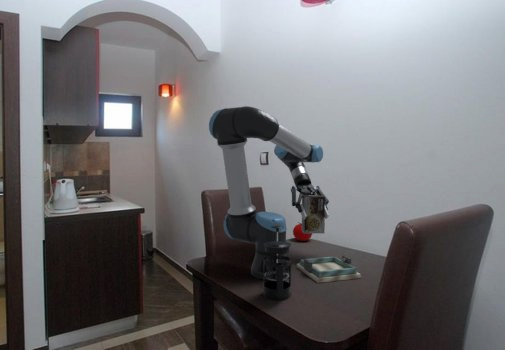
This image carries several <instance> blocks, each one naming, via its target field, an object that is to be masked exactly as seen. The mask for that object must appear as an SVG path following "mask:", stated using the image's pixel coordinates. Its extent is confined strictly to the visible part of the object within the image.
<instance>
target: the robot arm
mask: <svg viewBox="0 0 505 350" xmlns="http://www.w3.org/2000/svg"><path fill="white" fill-rule="evenodd" d="M208 130H209V133H210V135H211V136H212V138H214V139H215V140H216V142H217V146H218V147H219V148H221V150H222V156H223V165H224V171H225V176H226V184H227V185H226V187H227V192H228V199H229V205H230V207H229V208H228V209H227V214H226V215H225V216H224V219H223V230H224V233H225V235H227V237H228V238H229V239H230V240H235V241H237V242H242V243H243V242H244V243H247V244H252V245H255V255H254V258H253V261H252V264H251V266H250V275H251V276H253V277H254V278H256V279H259V280H263V281H264V257H266V256H270V255H277V254H271V253H267V252H266V251H265V246H264V243H266V242H269V241H277V232H276V228H271V226H274V225H281V226H283V227H284V228H280V229H279V232H278V241H283V242H287V230H288V229H287V222H286V218H285V217H284V215H282V214H280V213H276V212H272V211H258V212H257V209H256V206H255V205H254V204H252V199H251V198H252V197H251V192H250V191H251V190H250V183H249V174H248V167H247V166H248V165H247V158H246V152H245V146H246V144H247V143H248V139H259V140H261V141H263V142H271V143H272V144H274V145H275V146H274V149H273V151H274V152H273V153H274V155H275V156H276V157H277V159H279V160H280V161H281V162H282V163H283V164H284V165H285V166H286V167H287V168H288V170H289V172H290V175H291V177H292V179H293V183H294V185H292V186H291V188H290V193H291V206H292V207H295V209H297V211H298V213H300V215H301V219H302V218H303V220H305V218H306V217H307V215H306V213H305V210H304V207H303V204H302V195H322V196H324V197H325V220H327V219H328V218H329V216H330V214H329V212H328V210H329V207H328V204H329V203H330V200H329V199H328V197H327V196H326V195H325V193H323V191H322V189H321V188H320V186H319V185H317V186H314V185H313V184H312V181H311V178H310V176H309V173H308V170H307V168H306V165H305V163H311V164H312V163H320V162H321V161H322V160H323V158H324V150H323V147H322V146H321V145H316V144H314V145H313V144H310V143H308V142H307V141H306V140H304V139H302V138H301V137H299V136H298V135H297V134H295V133H293V132H292V131H290V130H289V129H287V128H286V127H284V126H283V125H281V124H280V122H279V120H278V119H277V118H276V117H274V116H272V115H271V114H270V113H268V112H266V111H264V110H261V109H259V108H256V107H253V106H246V105H245V106H239V107H229V108H228V107H227V108H226V107H225V108H221V109H218V110H216V111H215V112H214V113H212V115H211V116H210V119H209V123H208ZM297 193H299V194H298V198H297ZM278 255H283V256H287V253H285V254H278ZM266 261H268V262H272V263H273V259H270V260H266ZM284 262H288V261H287V260H283V259H278V263H284ZM272 268H273V267H271V266H267V265H265V274H266V273H268V272H272ZM283 272H285V273H288V274H289V266H285V267H283ZM265 281H268V280H267V279H266V278H265Z"/></svg>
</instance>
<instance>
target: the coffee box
mask: <svg viewBox="0 0 505 350" xmlns="http://www.w3.org/2000/svg"><path fill="white" fill-rule="evenodd" d="M301 204H303V207H304V210H305V213H306V215H307V217H306V218H305V220H303V218H302V217H301V223H302V232H303V233H304V234H312V235H313V234H325V224H326V222H325V220H326V219H325V197H324V196H322V195H302V200H301Z"/></svg>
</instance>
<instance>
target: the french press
mask: <svg viewBox="0 0 505 350" xmlns="http://www.w3.org/2000/svg"><path fill="white" fill-rule="evenodd" d="M271 228H276V232H277V241H269V242H266V243H264V246H265V251H266V252H267V253H271V254H277V255H270V256H266V257H264V280H263V289H262V290H263V291H262V296H263V295H264V296H263V297H264V298H265V299H267V300H271V299H273V300H272V301H285V300H288V299H290V298H291V296H292V292H291V289H292V288H291V285H292V284H291V277H292V259H291V257H289V256H287V255H286V256H283V255H278V254H285V253H286V254H288V253H290V250H291V249H290V248H291V247H292V244H291V243H290V242H287V241H286V242H283V241H278V232H279V229H280V228H284V227H283V226H281V225H274V226H271ZM270 259H273V263H272V262H268V261H266V260H270ZM278 259H283V260H287V261H288V262H284V263H278ZM265 265H267V266H271V267H273V268H272V272H268V273H266V274H265ZM285 266H289V274H288V273H285V272H283V267H285ZM265 278H266V279H267V280H265Z"/></svg>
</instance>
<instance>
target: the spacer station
mask: <svg viewBox="0 0 505 350" xmlns="http://www.w3.org/2000/svg"><path fill="white" fill-rule="evenodd" d="M296 268H297V269H298V270H299V271H300V272H302V273H303V274H305V276H307V277H309V278H310V279H311V280H313V281H315V282H316V284H321V283H330V282H337V281H346V280H347V281H348V280H356V279H357V280H358V279H361V278H362V275H361V273H359V272H358V268H357V267H356V266H353V265H352V258H351V257H348V256H346V255H343V254H342V255H341V259H340V258H339V257H337V256H325V257H315V258H303V259H300V261H299V263H296Z"/></svg>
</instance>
